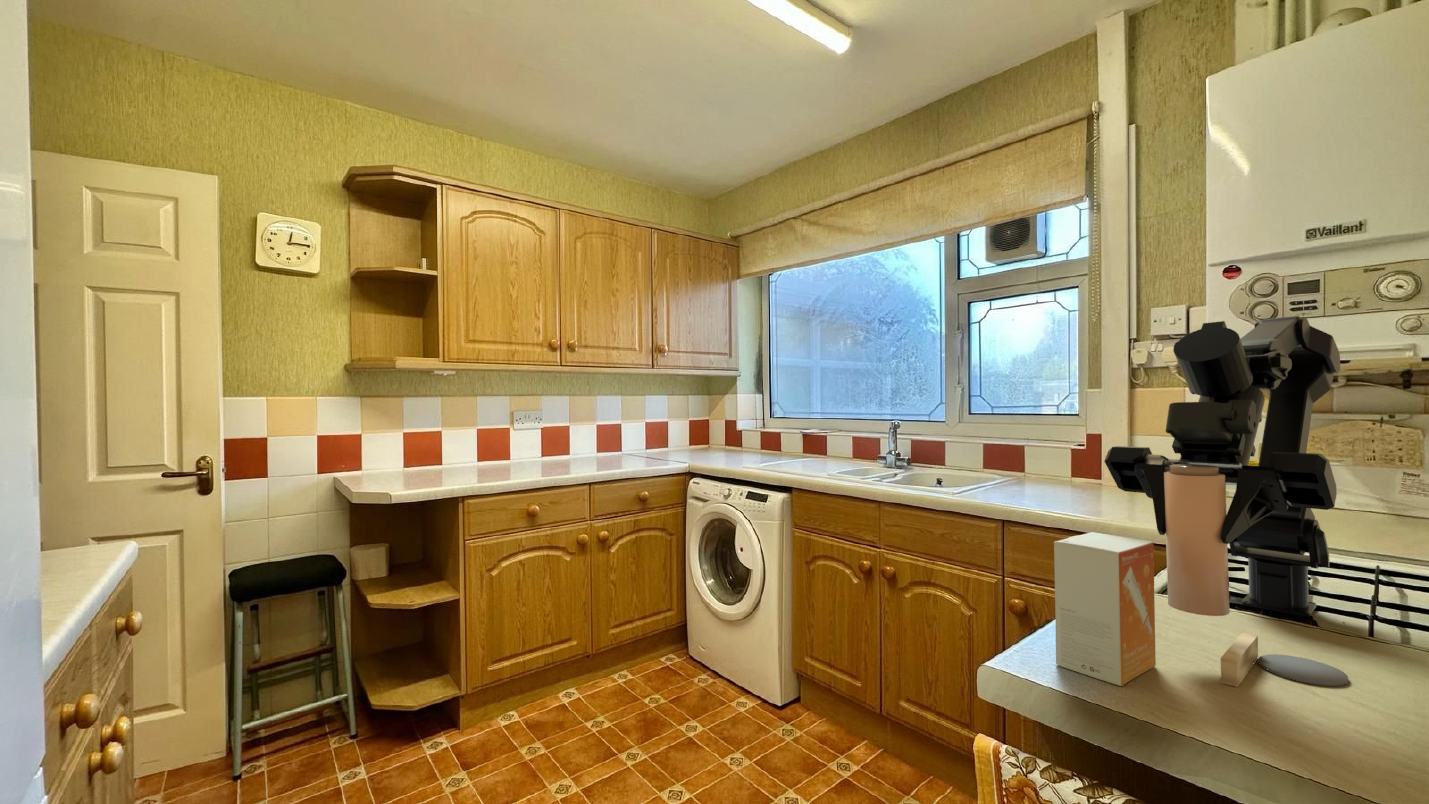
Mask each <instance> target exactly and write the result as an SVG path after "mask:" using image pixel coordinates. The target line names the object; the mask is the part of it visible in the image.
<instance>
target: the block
mask: <svg viewBox="0 0 1429 804" xmlns="http://www.w3.org/2000/svg"><path fill="white" fill-rule="evenodd" d="M1257 657H1258V658H1259V636H1258V635H1257V634H1252V633H1249V632H1244V631H1243V632H1242V633H1240V635H1239V636H1238V637H1237V638H1236V639H1235V640H1234V642H1233V643H1232V644H1231V645H1230V646H1229V647H1228V649H1227V650H1226V651H1225V652H1224V653H1223V654H1222V655H1221V657H1220V680H1221V681H1220V683H1221V684H1225V685H1228V686H1233V687H1236V688H1239V686H1240V685H1241V683H1242V681H1243V680H1244V679H1245V677H1247V675H1248V674H1249V672H1250V671H1251V669H1252V668H1251V666H1252V665H1253V663H1254V662H1255V661H1256V659H1257ZM1257 660H1258V659H1257ZM1256 662H1257V661H1256ZM1256 662H1255V663H1256ZM1255 663H1254V664H1255ZM1253 666H1254V665H1253ZM1253 666H1252V667H1253ZM1250 668H1251V669H1250ZM1248 671H1249V672H1248Z"/></svg>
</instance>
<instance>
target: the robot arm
mask: <svg viewBox="0 0 1429 804" xmlns="http://www.w3.org/2000/svg"><path fill="white" fill-rule="evenodd" d="M1173 354H1174V355H1175V357H1176V361H1177V363H1178V365H1179V368H1180V371H1181V372H1182V375H1183V378H1184V381H1185V383H1186V385H1187V388H1188V391H1189V392H1190V394H1192V395H1198V396H1199V398H1198V401H1183V402H1181V401H1179V402H1178V401H1177V402H1171V403H1169V404H1168V412H1167V419H1166V425H1165V433H1167V434H1170V436H1171V437H1172V438H1173V440H1172V441H1173V442H1172V445H1171V447H1172V450H1173V453H1174V454H1179V455H1180V456H1179V457H1180V458H1179V459H1171V458H1168V457H1166V456H1164V455H1162V454H1153V453H1152V451H1151V448H1150V447H1146V446H1120V445H1119V446H1118V445H1117V446H1116V445H1115V446H1111V448H1110V449H1109V450H1107V453H1106V455H1105V458H1104V460H1103V462H1104V464H1105V465H1106V468H1107V469H1108V471H1109V473H1110V475H1111V476H1112V479H1113V480H1114V482H1115V485H1116V486H1117V489H1120V490H1122V491H1124V492H1128V493H1129V492H1130V493H1138V494H1139V493H1142V494H1145V495H1146V497H1148V498H1150V499H1152V504H1153V510H1154V516H1155V522H1156V529H1157V532H1158V534H1159V535H1161V536H1166V521H1165V489H1164V472H1169V471H1170V465H1175V464H1196V465H1211V466H1217V467H1219V473H1220V474H1224V475H1225V483H1226V486H1235V492H1234V495H1233V497H1232V500H1231V503H1230V505H1229V507H1228V511H1227V512H1226V518H1225V521H1224V523H1223V527H1222V533H1221V540H1222V542H1223V543H1224V544H1227V545H1229V550H1230V555H1231V556H1232V557H1235V558H1236V557H1242V558H1247V559H1248V560H1247V562H1248V564H1247V565H1248V591H1249V593H1247V595H1246V596H1245V597H1244V598H1242V600H1241V605H1243V606H1246V607H1247V606H1248V607H1252V608H1256V609H1257V608H1258V609H1262V610H1268V611H1273V612H1279V613H1285V614H1289V615H1296V616H1301V617H1307V618H1310V617H1311V616H1312V614H1313V612H1315V609H1316V608H1317V603H1316V602H1313V601H1309V599H1310V598H1309V574H1308V573H1309V569H1308V567H1309V568H1311V569H1317V570H1318V569H1319V568H1330V551H1329V546H1328V542H1327V538H1326V534H1325V531H1324V530H1322V529H1321V526H1320V524H1319V521H1318V519H1316V517H1315V514H1314V512H1313V510H1315V509H1316V510H1325V511H1328V510H1330V509H1333V508H1335V505H1336V501H1337V495H1338V493H1337V484H1336V481H1335V477H1334V476H1335V475H1334V473H1333V469H1332V467H1331V463H1330V460H1329V459H1328V458H1327V457H1325V456H1324V454H1322V453H1313V452H1311V453H1309V452H1308V453H1307V451H1308V450H1307V448H1308V443H1309V435H1310V430H1311V429H1310V427H1311V421H1312V420H1311V419H1312V413H1313V406H1314V403H1316V402H1317V401H1318V400H1319V399H1321V398H1322V397H1324V395H1326V394H1327V393H1328V392H1329V391H1331V389H1332V385H1333V380H1334V374H1339V373H1340V370H1341V356H1340V351H1339V348H1338V346H1337V343H1336V341H1335V339H1334V336H1333V335H1332V334H1330V333H1327V332H1325V331H1323V330H1320V329H1318V328H1316V327H1314V326H1312V325H1310V323H1309V320H1308V318H1307V317H1306V316H1304V317H1301V316H1300V315H1293V316H1286V317H1285V316H1284V317H1275V318H1274V317H1273V318H1265V319H1264V318H1263V319H1262V320H1260V321H1256V322H1255V324H1254V328H1252V329H1251V330H1250V331H1248V332H1247V333H1246V334H1245V335H1244V336H1242V337H1240V335H1239V333H1238V332H1237V331H1235V330H1234V329H1232V328H1228V326H1227V324H1226V322H1225V321H1224V320H1223V321H1222V320H1221V321H1212V322H1204V323H1202V326H1201V328H1200V329H1197V330H1195V331H1192V332H1190V333H1187V334H1186V335H1184V336H1183V337H1181V338H1180V339H1179V340H1178V341H1176V342H1174V345H1173ZM1262 390H1265V392H1266V394H1268V395H1269V398H1268V405H1267V410H1266V415H1265V421H1264V428H1263V434H1262V441H1261V447H1260V452H1259V453H1260V454H1259V459H1258V465H1249V464H1250V460H1251V459H1250V458H1251V457H1255V454H1256V450H1257V449H1256V447H1255V439H1256V436H1257V432H1258V428H1259V424H1260V423H1261V422H1262V420H1263V416H1262V412H1263V410H1264V405H1265V401H1266V398H1265V394H1264V392H1263V391H1262ZM1306 553H1308V554H1309V555H1307V554H1306Z"/></svg>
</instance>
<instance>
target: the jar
mask: <svg viewBox="0 0 1429 804" xmlns="http://www.w3.org/2000/svg"><path fill="white" fill-rule="evenodd" d="M1226 488H1227V485H1226V483H1225V475H1224V474H1220V473H1219V467H1217V466H1211V465H1196V464H1175V465H1170V471H1169V472H1164V489H1165V521H1166V533H1165V542H1166V543H1165V547H1166V579H1167V580H1166V581H1167V584H1166V585H1167V605H1169V607H1171V608H1172V609H1176V610H1178V611H1182V612H1185V613H1188V614H1194V615H1199V616H1208V617H1222V616H1224V617H1225V616H1228V615H1230V587H1229V584H1230V583H1229V580H1230V579H1229V558H1228V557H1229V552H1228V544H1224V543H1223V542H1222V540H1221V533H1222V527H1223V523H1224V521H1225V518H1226V515H1227V493H1226V491H1227V490H1226Z"/></svg>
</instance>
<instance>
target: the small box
mask: <svg viewBox="0 0 1429 804" xmlns="http://www.w3.org/2000/svg"><path fill="white" fill-rule="evenodd" d="M1154 544H1155V542H1153V541H1150V540H1149V541H1148V540H1144V539H1143V540H1142V539H1137V538H1131V537H1125V536H1120V535H1119V536H1118V535H1113V534H1105V533H1100V532H1094V531H1091V532H1087V533H1083V534H1079V535H1073V536H1069V537H1066V538H1064V539H1059V540H1055V541H1053V551H1054V552H1053V557H1054V559H1053V561H1054V563H1053V565H1054V566H1053V567H1054V603H1055V605H1054V606H1055V608H1054V609H1055V610H1054V611H1055V612H1054V613H1055V615H1054V616H1055V664H1056V665H1057V666H1059V667H1062V668H1065V669H1068V670H1071V671H1073V672H1077V673H1080V674H1082V675H1085V676H1089V677H1091V678H1094V679H1098V680H1100V681H1104V682H1107V683H1110V684H1113V685H1116V686H1120V687H1123V686H1124V685H1126V684H1127V683H1128V682H1130V681H1131V680H1133V679H1135V678H1137V677H1139V676H1140V675H1142V674H1144V673H1146V672H1147V671H1149V670H1151V669H1154V668H1155V667H1156V666H1157V665H1156V664H1157V663H1156V659H1157V658H1156V617H1155V616H1156V613H1155V612H1156V611H1155V610H1156V609H1155V605H1156V604H1155V561H1154V560H1155V554H1154V550H1155V549H1154V546H1155V545H1154Z"/></svg>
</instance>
